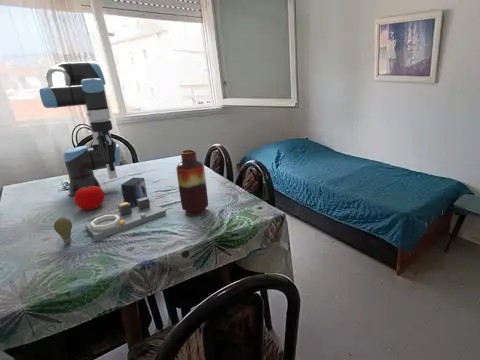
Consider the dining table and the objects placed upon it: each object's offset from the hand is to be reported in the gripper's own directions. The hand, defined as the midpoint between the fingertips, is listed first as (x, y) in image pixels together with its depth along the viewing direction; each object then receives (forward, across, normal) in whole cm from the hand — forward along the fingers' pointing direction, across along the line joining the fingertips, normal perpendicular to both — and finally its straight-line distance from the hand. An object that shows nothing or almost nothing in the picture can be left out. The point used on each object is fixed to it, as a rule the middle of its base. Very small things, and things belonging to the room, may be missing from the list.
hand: (113, 177), depth 123 cm
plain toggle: (+14, +7, +8) cm, 18 cm away
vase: (+17, +24, +23) cm, 37 cm away
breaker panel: (+16, +10, -1) cm, 19 cm away
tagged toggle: (+14, +7, 0) cm, 16 cm away
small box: (+16, -7, +10) cm, 20 cm away
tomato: (+16, -17, -7) cm, 25 cm away
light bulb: (+16, +11, -23) cm, 30 cm away
